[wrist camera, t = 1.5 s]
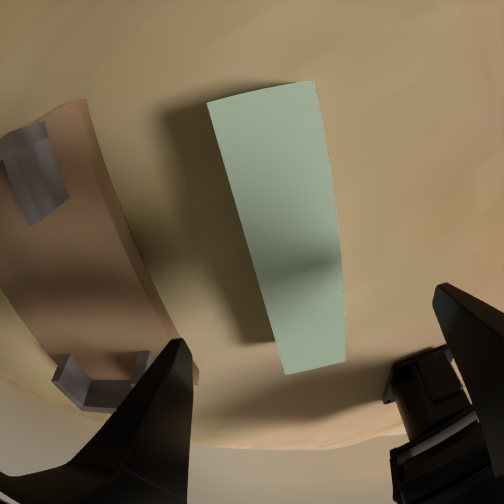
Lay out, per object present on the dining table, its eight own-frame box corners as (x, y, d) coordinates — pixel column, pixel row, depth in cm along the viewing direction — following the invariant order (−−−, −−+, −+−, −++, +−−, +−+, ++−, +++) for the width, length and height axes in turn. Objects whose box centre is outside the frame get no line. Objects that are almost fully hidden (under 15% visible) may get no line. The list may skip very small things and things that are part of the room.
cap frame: (199, 371, 19) (195, 416, 16) (81, 375, 20) (68, 410, 17) (85, 98, 10) (36, 107, 7) (-35, 178, 11) (-72, 202, 8)
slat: (334, 324, 18) (345, 361, 15) (280, 336, 18) (285, 374, 15) (296, 82, 11) (313, 79, 8) (214, 100, 11) (206, 102, 8)
